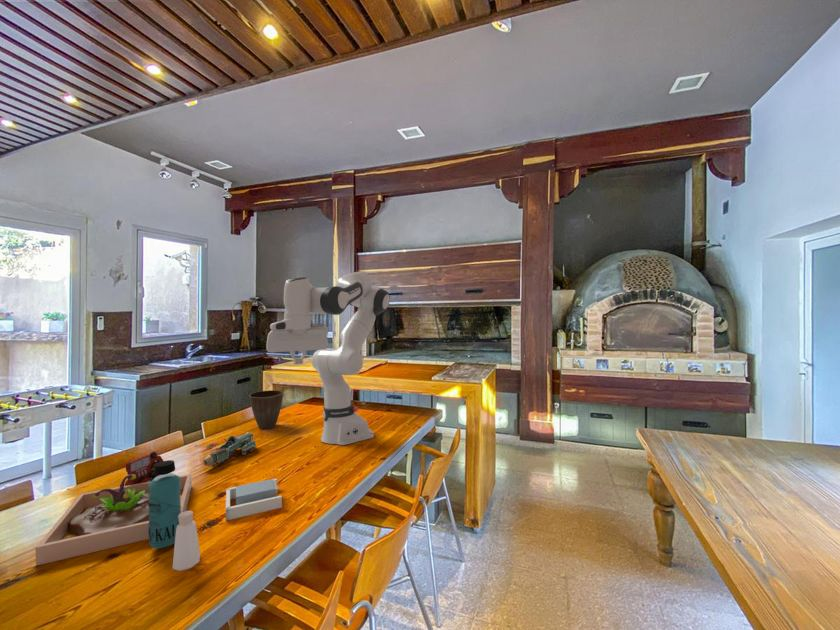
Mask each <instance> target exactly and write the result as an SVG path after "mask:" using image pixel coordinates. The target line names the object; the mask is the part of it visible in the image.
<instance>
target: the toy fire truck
mask: <svg viewBox="0 0 840 630" xmlns="http://www.w3.org/2000/svg"><path fill="white" fill-rule="evenodd" d="M162 461H164V459H163V458H162V456H161V455H158V453H157V452H156V451H151V452H150V453H149V454H148V455H147V454H145V455H143V456H140V457H137V458H135V459H132V460H131V461H128V462H126V463H125V472H126V473H127V475H130V474H134V475H136V478H135V479H134V480H130V479H129V478H127V479H126V480H125V483H124V486H128V485H134V484H139V483H145V482H150V481H152V480H153V479H154V478H156V477H157V476H160V475H155V474H154V468H155V465H156V464H157V463H159V462H162Z"/></svg>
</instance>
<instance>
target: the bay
mask: <svg viewBox="0 0 840 630" xmlns="http://www.w3.org/2000/svg"><path fill="white" fill-rule="evenodd" d="M272 479H273V481H274V480H276V484H277V485H278V479H277V478H272ZM225 493H226V494H225V521H226V522H227V521H232V520H234V519H239V518H243V517H247V516H252V515H257V514H260V513H264V512H269V511H272V510H278V509H281V508H282V509H283V502H282V501H283V499H282V495H278V496H276V495H275V497H272V498H267V499H263V500H258V501H254V502H249V503H245V504H240V505H236V504H235V505H232V506H231V500H234V499H235V500H236V486H233V487H229V488H226V490H225Z"/></svg>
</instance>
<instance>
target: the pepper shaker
mask: <svg viewBox="0 0 840 630" xmlns="http://www.w3.org/2000/svg"><path fill="white" fill-rule="evenodd" d="M178 518H179V525H177V528H176V536H175V543H174V548H173V558H172V559H173V560H172V570H175V571H178V572H182V571H185V570H189V569H191V568H193V567H194V566H196V565H197V564H199V562H200V558H201V554H200V553H201V552H200V545H199V539H198V532H197V524H196V521H195V520H193V518H194V511H192V510H186V511H185V512H182V513H180V514H179V515H178Z"/></svg>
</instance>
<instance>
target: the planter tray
mask: <svg viewBox="0 0 840 630" xmlns="http://www.w3.org/2000/svg"><path fill="white" fill-rule="evenodd" d="M178 476H179V477H180V491H182V490H183V491H182V494H181V496H180V504H181V507H182V508H181V513H182V512H185V511H187V509H188V504H189V501H190V495H191V490H192V485H193V484H192V474H191V473H190V474H185V475H178ZM150 482H151V481H150ZM150 482H145V483H139V484H134V485H128V486H125V485H124V490H126V489H130V490H131V491H132V490H133V489H135V493H139V492H141V491H144V490H145V491H146V492H149V483H150ZM110 489H113V490H114V491H117V492H118V491H119V489H120V486H118V487H113V488H110ZM99 491H100V490H95V491H90V492H84V493H80V494H79V495H78V496H77V497H76V498H75V500H74V501H73V502H72V503H71V505H70V506H69V507H68V508H67V509H66V511H64V513H63V514H62V515H61V517H60V518H59V519H58V520H57V522H56V523H55V524H54V525H53V526H52V527H51V529H49V531H48V532H47V533H46V534H45V536H44V537H43V538H42V540H40V542H39V543H38V544H37V545H36V547H35V566H36V567H37V566H41V565H46V564H50V563H54V562H58V561H62V560H66V559H70V558H74V557H79V556H83V555H88V554H90V553H91V554H92V553H94V552H99V551H105V550H108V549H112V548H116V547H120V546H121V547H122V546H125V545H128V544H134V543H138V542H141V541H146V540H149V538H148V525H149V521H146V522H141V523H137V524H132V525H128V526H123V527H118V528H114V529H109V530H105V531H100V532H96V533H91V534H86V535H82V536H80V535H78V536H73V537H69V538H64V539H63V537H64V536H65V535H66V534H67V532H68V531H69V522H70V520H71V519H72V518H73V517H75V516H77V515H80V514H82V513H83V511H84V509H85V510H87V509H89V508H92V507H95V506H98V505H99V504H103V501H101V498H111V499H112V497H111V495H112V494H111V493H110V492H108V491H103V492H100V493H99V497H98V498H97V499H93V495H94V494H95V493H97V492H99Z"/></svg>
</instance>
